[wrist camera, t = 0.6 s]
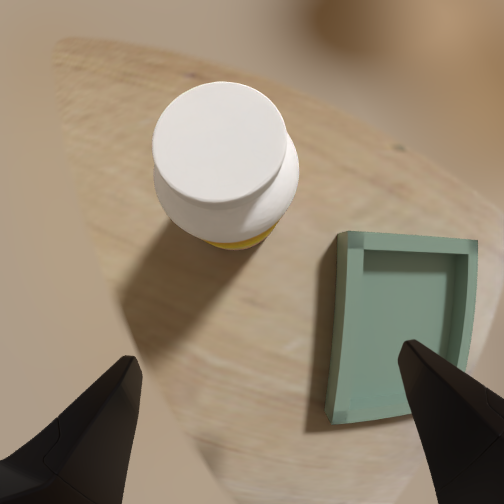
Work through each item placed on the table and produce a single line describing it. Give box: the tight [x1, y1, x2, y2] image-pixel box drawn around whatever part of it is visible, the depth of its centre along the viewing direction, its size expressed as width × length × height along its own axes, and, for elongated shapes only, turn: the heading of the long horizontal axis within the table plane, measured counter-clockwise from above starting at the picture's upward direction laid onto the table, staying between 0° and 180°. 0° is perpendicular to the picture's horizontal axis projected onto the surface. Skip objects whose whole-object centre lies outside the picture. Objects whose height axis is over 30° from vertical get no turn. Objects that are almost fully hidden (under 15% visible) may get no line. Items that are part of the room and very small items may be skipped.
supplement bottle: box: [152, 82, 299, 250], centre depth 16 cm, size 7×7×13 cm
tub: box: [324, 231, 478, 425], centre depth 21 cm, size 14×12×2 cm
